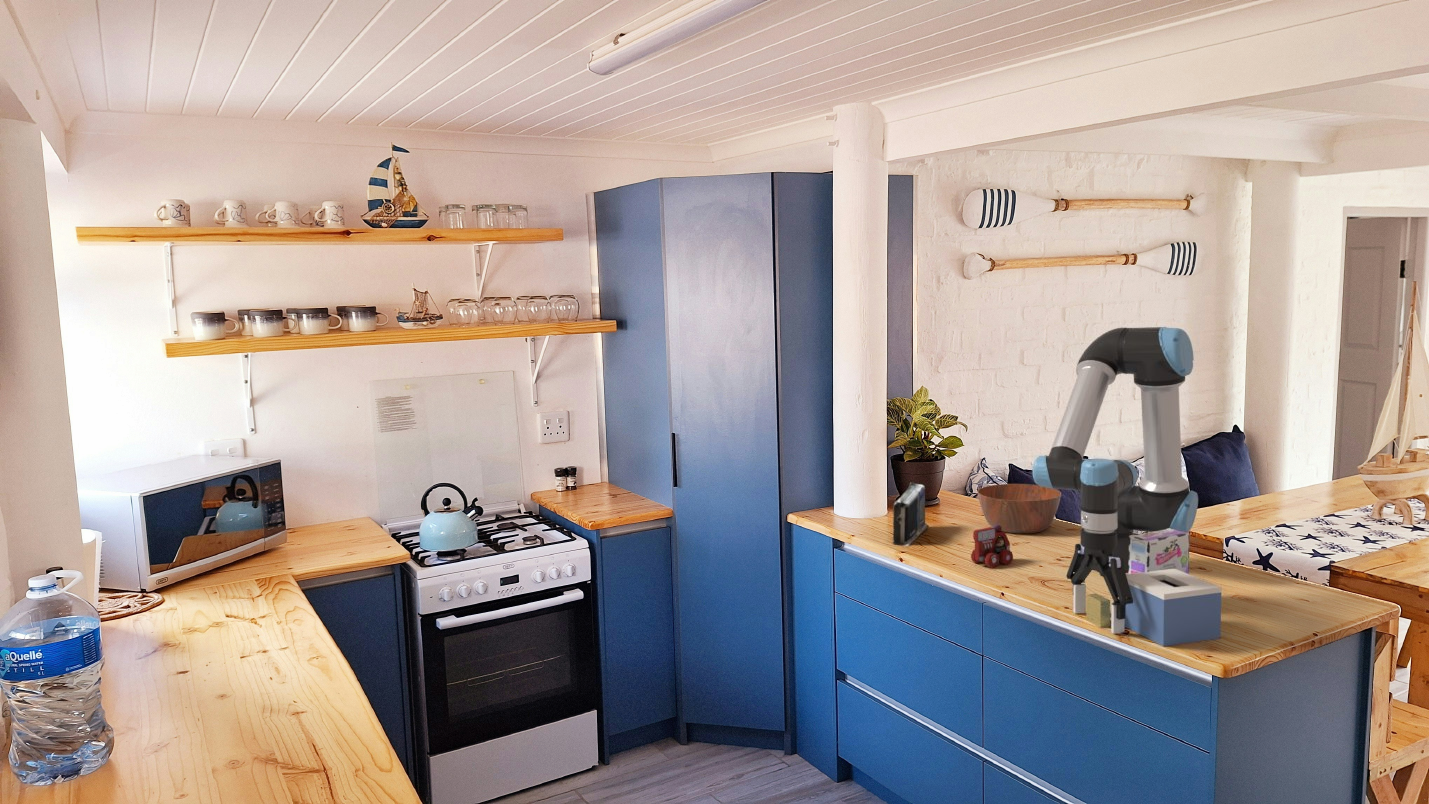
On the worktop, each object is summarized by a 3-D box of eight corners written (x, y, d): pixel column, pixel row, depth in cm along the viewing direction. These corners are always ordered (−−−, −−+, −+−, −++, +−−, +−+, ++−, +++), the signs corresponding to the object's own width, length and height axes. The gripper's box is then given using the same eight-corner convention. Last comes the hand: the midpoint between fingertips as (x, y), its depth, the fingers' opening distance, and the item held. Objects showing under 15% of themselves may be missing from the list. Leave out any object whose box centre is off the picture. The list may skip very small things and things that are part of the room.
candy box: (1147, 609, 216) (1148, 540, 214) (1126, 602, 221) (1127, 534, 220) (1189, 599, 222) (1190, 532, 220) (1168, 592, 227) (1169, 526, 225)
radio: (906, 547, 276) (906, 498, 274) (879, 544, 280) (878, 495, 279) (935, 529, 295) (934, 483, 293) (909, 526, 300) (908, 481, 298)
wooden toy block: (1086, 620, 211) (1086, 594, 210) (1095, 619, 211) (1096, 593, 211) (1100, 627, 206) (1100, 601, 205) (1109, 626, 207) (1110, 600, 206)
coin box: (1119, 623, 208) (1119, 575, 206) (1173, 616, 211) (1174, 568, 210) (1163, 646, 194) (1164, 594, 193) (1220, 638, 197) (1221, 586, 196)
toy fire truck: (1018, 562, 256) (1018, 525, 255) (984, 570, 251) (984, 532, 250) (999, 556, 263) (999, 520, 261) (966, 564, 257) (966, 527, 256)
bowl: (1069, 522, 296) (1069, 487, 295) (1050, 541, 276) (1050, 503, 274) (990, 515, 310) (990, 481, 309) (967, 533, 289) (966, 496, 288)
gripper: (1050, 518, 218) (1050, 606, 220) (1120, 545, 193) (1119, 643, 196) (1079, 515, 219) (1078, 602, 222) (1152, 541, 195) (1150, 639, 198)
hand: (1098, 621), depth 209 cm, fingers open, 13 cm apart
